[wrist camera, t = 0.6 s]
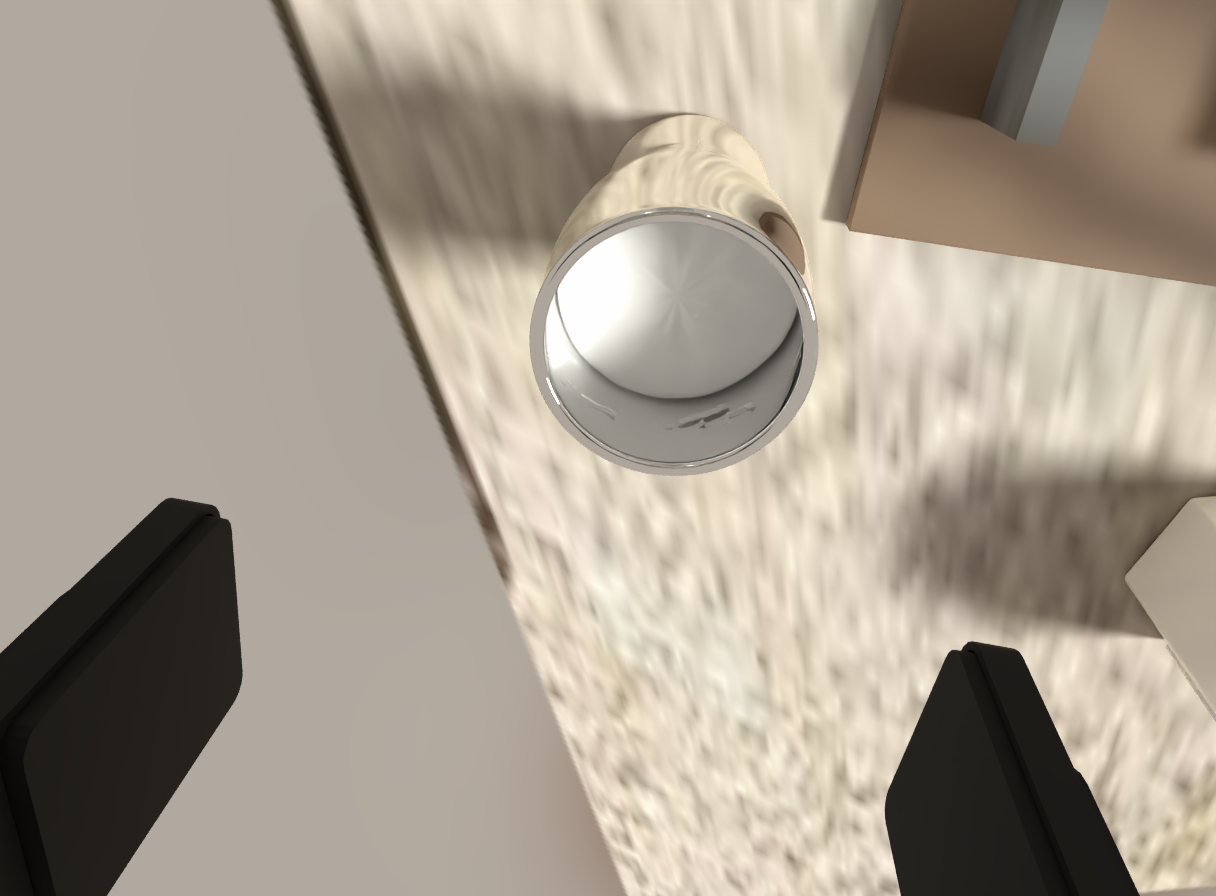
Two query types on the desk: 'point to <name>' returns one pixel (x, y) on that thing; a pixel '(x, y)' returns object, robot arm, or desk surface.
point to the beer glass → (677, 306)
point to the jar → (1184, 593)
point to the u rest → (1050, 133)
